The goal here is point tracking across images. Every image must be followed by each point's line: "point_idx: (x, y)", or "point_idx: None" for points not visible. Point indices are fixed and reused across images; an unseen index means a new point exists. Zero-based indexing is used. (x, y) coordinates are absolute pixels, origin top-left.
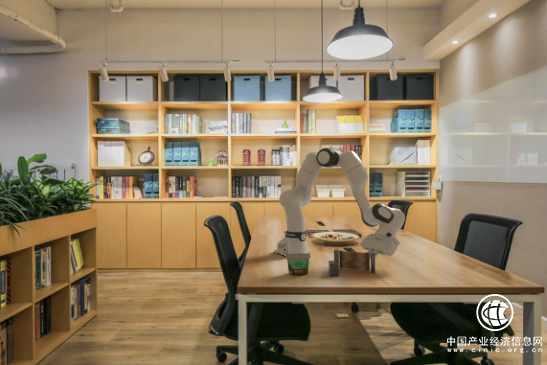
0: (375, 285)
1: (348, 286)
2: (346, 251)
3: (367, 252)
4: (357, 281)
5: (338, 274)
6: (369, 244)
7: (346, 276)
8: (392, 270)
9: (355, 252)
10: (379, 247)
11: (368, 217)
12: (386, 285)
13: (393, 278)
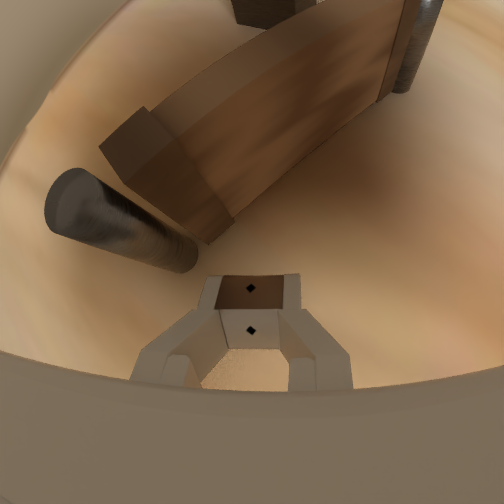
0: (42, 119)
1: (109, 25)
2: (379, 3)
3: (150, 156)
4: (119, 68)
5: (236, 14)
6: (412, 455)
7: (215, 51)
8: None
9: (281, 38)
10: (48, 411)
11: None
12: (16, 165)
13: (38, 281)
